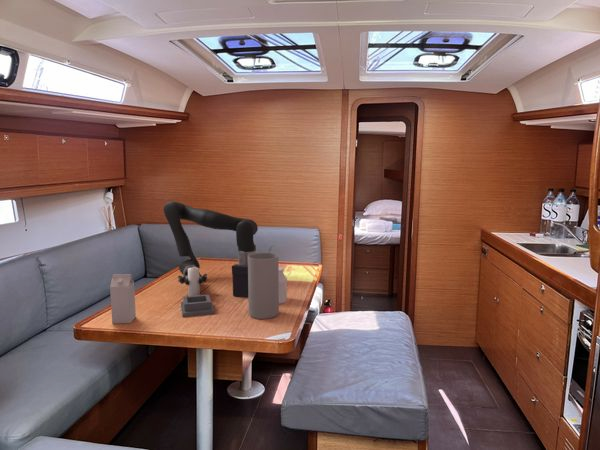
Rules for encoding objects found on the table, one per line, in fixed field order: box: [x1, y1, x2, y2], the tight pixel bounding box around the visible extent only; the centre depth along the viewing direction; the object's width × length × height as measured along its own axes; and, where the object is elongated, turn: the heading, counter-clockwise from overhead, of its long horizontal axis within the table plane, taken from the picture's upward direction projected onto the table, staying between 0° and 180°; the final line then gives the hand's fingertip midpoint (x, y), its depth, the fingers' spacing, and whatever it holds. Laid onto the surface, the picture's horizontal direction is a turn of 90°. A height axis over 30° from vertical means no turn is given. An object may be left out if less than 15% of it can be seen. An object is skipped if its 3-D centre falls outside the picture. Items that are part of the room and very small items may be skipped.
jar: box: [279, 266, 288, 305], centre depth 200 cm, size 12×10×15 cm
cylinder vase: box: [247, 252, 280, 320], centre depth 181 cm, size 12×12×25 cm
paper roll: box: [187, 267, 201, 296], centre depth 204 cm, size 5×5×14 cm
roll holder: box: [180, 294, 216, 318], centre depth 189 cm, size 13×16×4 cm
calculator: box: [231, 263, 249, 299], centre depth 206 cm, size 11×4×15 cm, turn 71°
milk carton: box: [109, 273, 137, 324], centre depth 174 cm, size 7×7×19 cm
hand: (194, 282), depth 201 cm, fingers closed on paper roll, 5 cm apart
